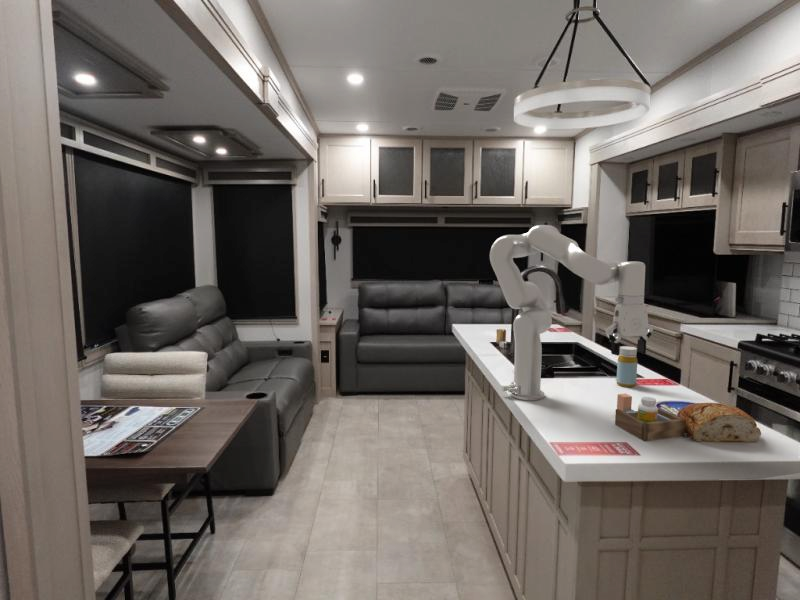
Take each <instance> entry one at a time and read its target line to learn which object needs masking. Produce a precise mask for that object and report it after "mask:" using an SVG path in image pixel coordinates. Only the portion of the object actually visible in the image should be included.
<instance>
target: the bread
mask: <svg viewBox="0 0 800 600" xmlns="http://www.w3.org/2000/svg"><path fill="white" fill-rule="evenodd" d="M676 416H678V417H680V418H682V419H685V420H686V428H685V435H687V436H688V437H691V439H692V440H693V441H697V442H724V441H725V442H729V441H736V442H735V443H752V442H755V441H757V440H759V438H760V437H761V435H762V431H761V429H760V428H759V427H758V426H757V422H756V420H755V419H754V418H753V417H752V416H751V415H750V414H748V413H747V412H745V411H744V410H742V409H741V408H739V407H736V406H734V405H729V404H728V403H727V404H726V403H721V402H697V403H691V404H688V405H685V406H684V407H682V408H681V409H679V411H678V413H677V415H676ZM737 441H738V442H737ZM725 442H724V443H725Z"/></svg>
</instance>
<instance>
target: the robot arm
mask: <svg viewBox="0 0 800 600" xmlns="http://www.w3.org/2000/svg"><path fill="white" fill-rule="evenodd" d="M538 253H542V254H544V255H545V256H548V257H550V258H552V259H553V260H555V261H558V263H560V264H562V265H563V266H564V267H566V268H567V269H568V270H569V271H571V272H572V273H573V274H575V275H577V276H579V278H582V279H584V280H586V281H588V282H590V283H592V284H594V285H596V286H597V285H599V286H604V285H608V284H615V283H618V284H617V285H618V287H617V297H615V299H614V301H615V302H616V303H617V304H616V305H615V307H614V311H613V318H612V324H611V325H609V326H608V327H606V328H605V329H604V332H605V335H606V337H607V339H608V340H609V342H610V344H611V345H610V353H611V354H612V355H615V356H617V357H619V355H620V347H621V343H619V342H620V341H621V339H622V338H639V339H637V345H636V346H637V347H636V348H637V353H641V354H646V353H647V342H648V341H649V338H651V336H652V333H653V330H654V328H655V327H654V326H653V325H651V324H649V314H648V308H647V305H646V304H645V281H646V264H645V263H644V262H642V261H618V260H611V259H610V260H609V259H608V260H607V259H606V260H601V259H599V258H597V257H594V256H592V255H590V254H588V253H586V252H585V251H584V250H582V249H581V248H580V247H579V244H578V242H577V241H576V240H574V239H572V238H569V237H567V236H566V235H564V234H562V233H560V231H559V230H558V229H557V227H555V226H553V225H550V224H538V225H534V226H532V227H531V228H530V229H529V230H528V232H526V233H522V234H505V235H502V236H500V237H498V238H496V240H495V241H494V242H493V243H492V245H491V248H490V251H489V261H490V265H491V267H492V269H493V272H494V273H495V276H496V278H497V281H498V284H499V286H500V289H501V290H502V293H503V296H504V298H505V301H506V303H507V305H508V306H509V307H510V308H512V309H513V310H520V309H521V310H522V312H520V313H518V314H517V315H516V317H514V320H513V323H512V330H513V335H514V336H513V337H514V368H513V369H514V370H513V374H514V375H513V381H512V382H511V383H510V384H509V385H502V386H501V391H502V392H507V393H509V395H510V396H511V397H512V398H514V399H516V400H521V401H540V400H543V399H544V398H545V396H546V395H545V391H543V390H542V389H541V382H542V381H541V379H542V377H541V376H542V355H543V354H542V353H543V351H542V350H543V349H542V339H541V334H544V333H546V332H547V331H549V330H550V328H551V327H552V323H553V320H552V319H553V318H552V314H551V311H550V310H549V309H550V308H549V307H548V305H547V302H546V300H545V298H544V295H543V293H542V291H541V289H540V288H539V287H538V285H537V284H535V283H534V282H531V281H525V280H524V278H523V276H522V274H521V271H520V269H519V267H518V265H517V264H516V263H515V262H514V258H515V259H517V258H518V259H519V258H525V257H527V256H531V255H535V254H538ZM612 333H613V334H612Z"/></svg>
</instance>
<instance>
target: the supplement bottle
mask: <svg viewBox="0 0 800 600" xmlns="http://www.w3.org/2000/svg"><path fill="white" fill-rule="evenodd" d="M656 404H657V400H656V398H654V397H651V396H642V397H641V398H640V404H638V407H637V411H638V419H639V420H641V421H643V422H645V423H647V422H657V417H658V408H659V407H658V406H657V405H656ZM657 407H658V408H657Z"/></svg>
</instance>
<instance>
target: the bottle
mask: <svg viewBox="0 0 800 600" xmlns="http://www.w3.org/2000/svg"><path fill="white" fill-rule="evenodd" d="M637 353H638V351H637V347H635V346H629V345H622V346H621V345H620V355H619V356H617V365H616V367H617V368H616V384H617V385H618V386H620V387H623V388H634V387H636V385H637V375H638V374H637V372H638V358H637Z"/></svg>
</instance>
